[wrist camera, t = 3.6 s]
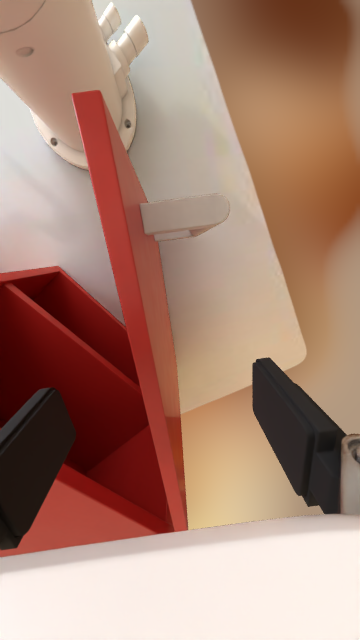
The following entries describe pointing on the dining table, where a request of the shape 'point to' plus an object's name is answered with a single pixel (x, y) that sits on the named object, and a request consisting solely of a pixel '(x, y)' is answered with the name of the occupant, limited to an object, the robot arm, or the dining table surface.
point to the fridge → (81, 412)
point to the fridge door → (144, 277)
